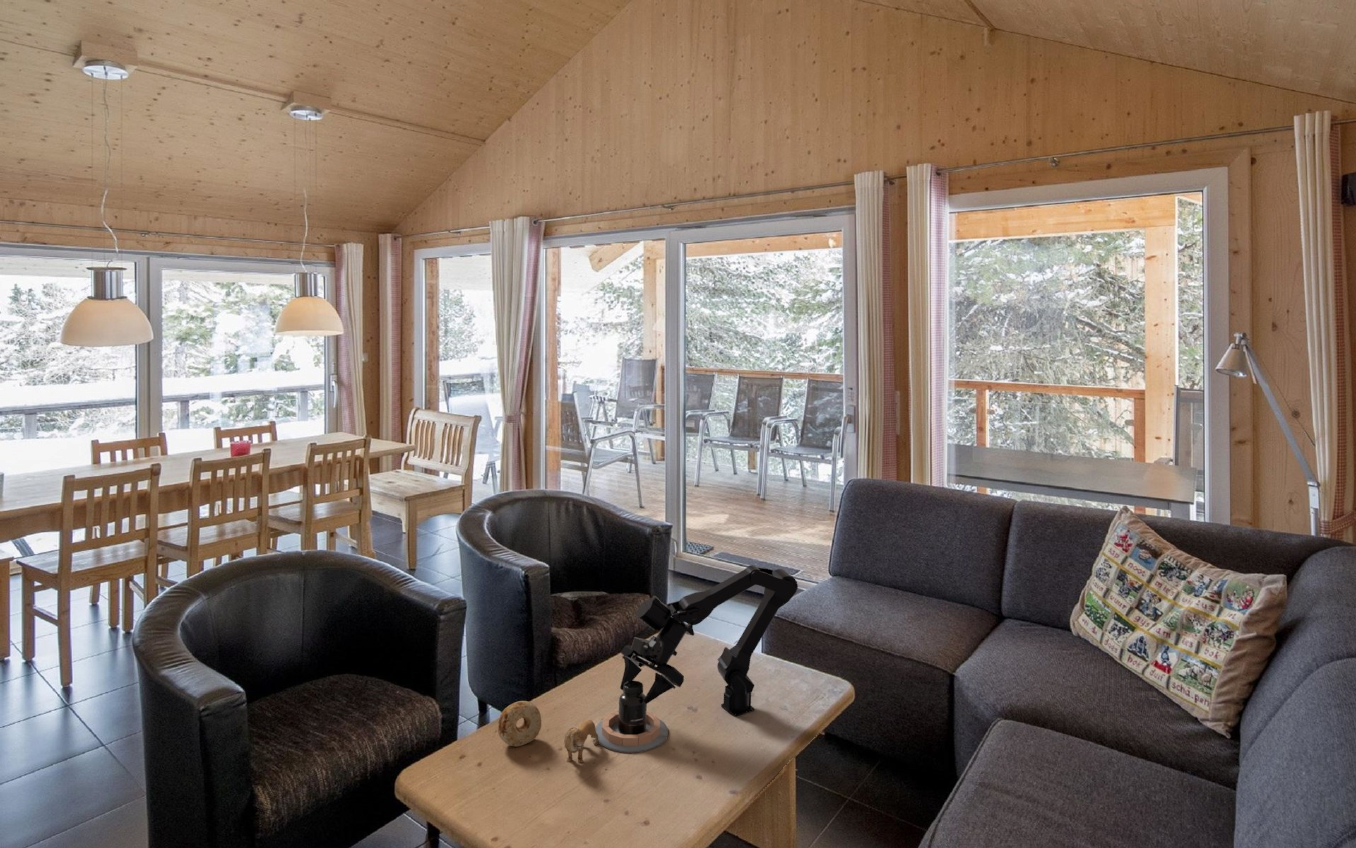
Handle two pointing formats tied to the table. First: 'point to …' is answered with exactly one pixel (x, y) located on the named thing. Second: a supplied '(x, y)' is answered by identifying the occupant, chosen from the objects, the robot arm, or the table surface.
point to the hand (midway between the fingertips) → (633, 696)
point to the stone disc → (526, 730)
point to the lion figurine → (579, 739)
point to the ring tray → (632, 748)
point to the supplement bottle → (632, 709)
